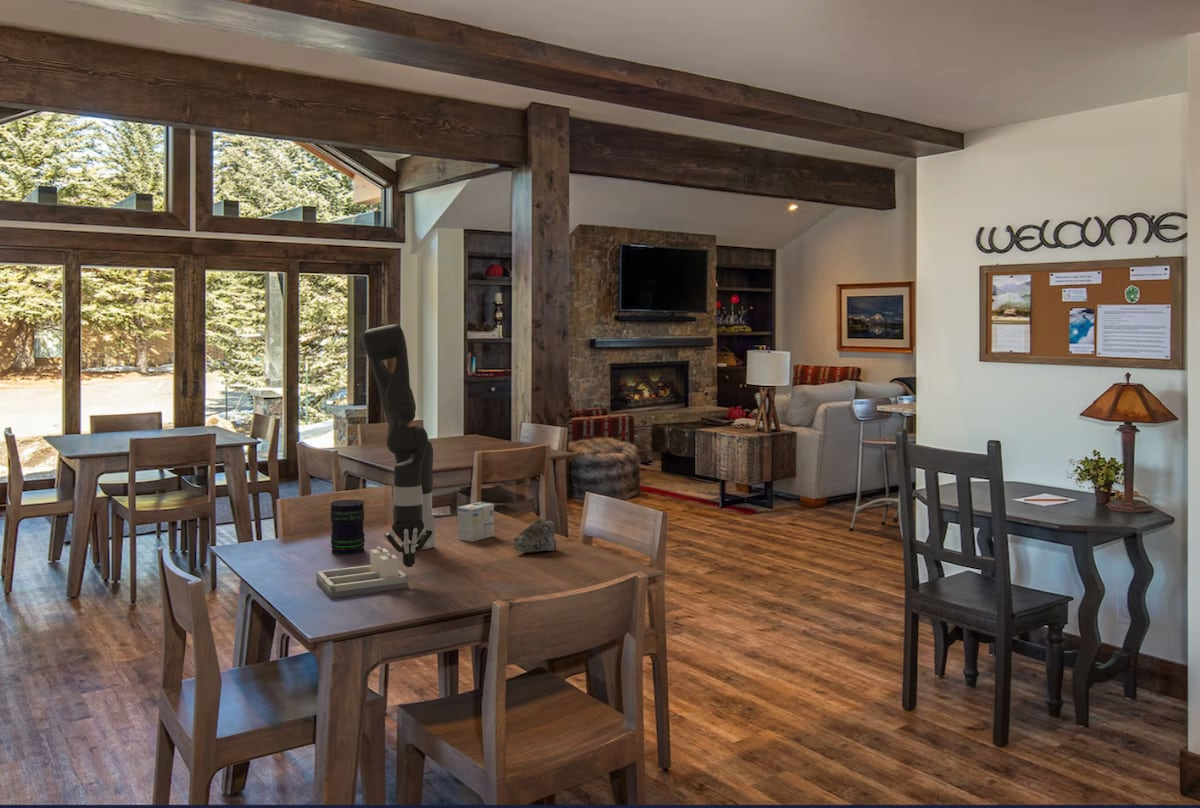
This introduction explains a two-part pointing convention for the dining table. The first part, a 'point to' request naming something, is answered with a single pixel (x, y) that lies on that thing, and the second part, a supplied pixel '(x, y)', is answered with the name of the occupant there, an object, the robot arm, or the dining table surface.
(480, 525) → the light bulb box
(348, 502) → the storage jar
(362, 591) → the switch bank
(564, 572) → the dining table surface
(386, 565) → the tab
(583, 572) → the dining table surface
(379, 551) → the tab
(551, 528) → the mineral rock
